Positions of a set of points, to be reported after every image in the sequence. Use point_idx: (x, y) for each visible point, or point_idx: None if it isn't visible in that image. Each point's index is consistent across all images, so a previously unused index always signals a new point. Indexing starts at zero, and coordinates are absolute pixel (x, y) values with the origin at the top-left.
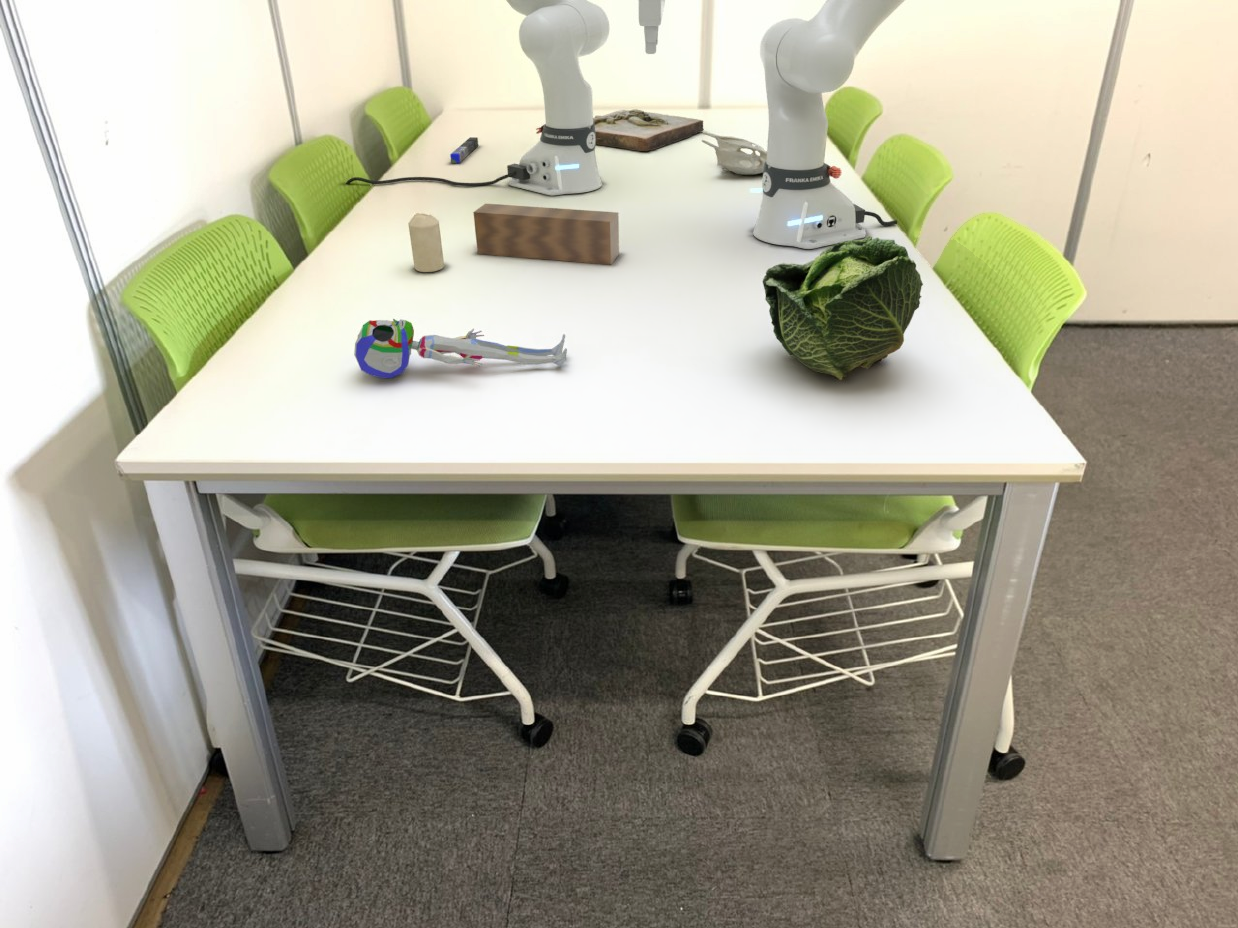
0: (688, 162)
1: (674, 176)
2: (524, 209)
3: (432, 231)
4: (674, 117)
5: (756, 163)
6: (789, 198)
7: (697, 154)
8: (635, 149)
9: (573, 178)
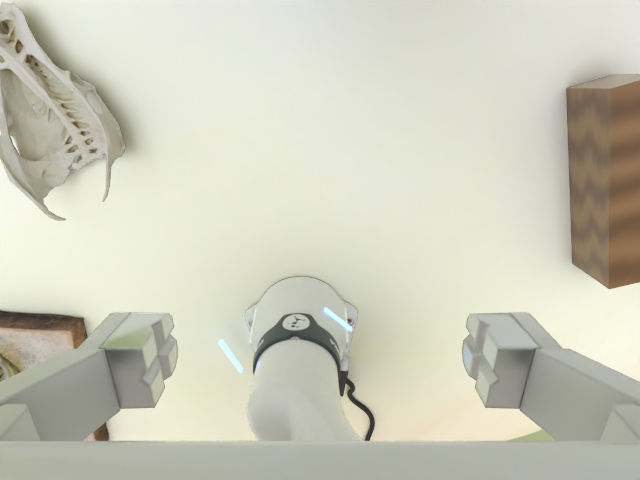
0: (83, 237)
1: (169, 217)
2: (626, 227)
3: None
4: None
5: (28, 115)
6: None
7: (31, 248)
8: (85, 336)
9: (332, 304)
